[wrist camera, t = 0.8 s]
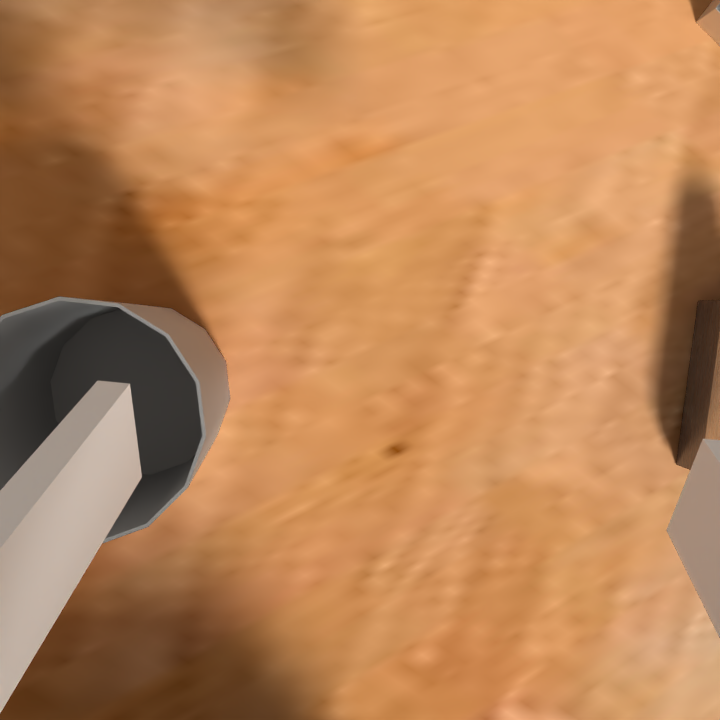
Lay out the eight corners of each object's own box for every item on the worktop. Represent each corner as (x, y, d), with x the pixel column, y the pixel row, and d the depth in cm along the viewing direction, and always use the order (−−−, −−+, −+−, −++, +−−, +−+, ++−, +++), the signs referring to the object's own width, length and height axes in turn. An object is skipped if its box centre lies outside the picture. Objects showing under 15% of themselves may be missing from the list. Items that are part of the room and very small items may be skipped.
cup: (143, 268, 30) (75, 244, 21) (264, 387, 32) (256, 419, 22) (15, 391, 30) (-115, 427, 20) (143, 507, 31) (78, 596, 21)
